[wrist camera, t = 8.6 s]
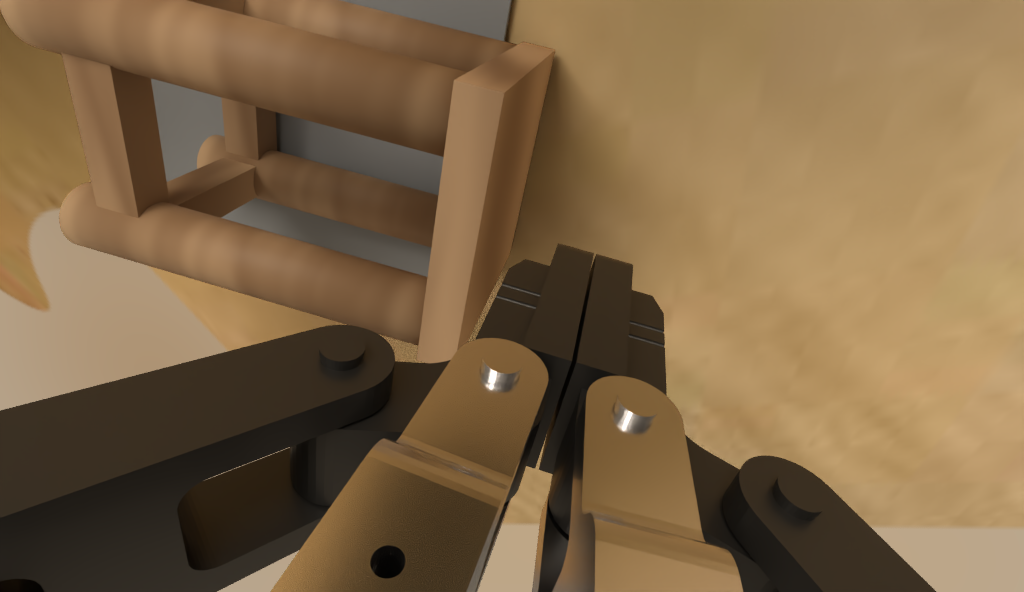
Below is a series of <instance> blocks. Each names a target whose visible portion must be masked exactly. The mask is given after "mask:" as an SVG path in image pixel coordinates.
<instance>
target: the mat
mask: <svg viewBox="0 0 1024 592" xmlns="http://www.w3.org/2000/svg"><path fill="white" fill-rule="evenodd" d="M341 1H345V2H349V3H353V4H357V5H361V6H365V7H369V8H373V9H377V10H381V11H385V12H389V13H393V14H397V15H401V16H405V17H409V18H413V19H417V20H421V21H425V22H429V23H432V24H436V25H440V26H444V27H448V28H452V29H456V30H460V31H464V32H468V33H472V34H476V35H480V36H484V37H488V38H492V39H496V40H500V41H504V42H505V38H506V32H507V27H508V21H509V15H510V9H511V3H512V0H341ZM151 82H152V89H153V95H154V102H155V109H156V115H157V122H158V128H159V135H160V141H161V148H162V155H163V161H164V168H165V174H166V181H167V182H168V181H170V180H173V179H175V178H177V177H180V176H182V175H184V174H187V173H189V172H191V171H193V170H196V169H197V157H198V153H199V150H200V147H201V146H202V144H203V142H204V141H205V140H206V139H207V138H208V137H210V136H212V135H221V136H224V137H225V134H224V122H223V111H222V99H221V97H218V96H215V95H211V94H207V93H204V92H200V91H196V90H192V89H189V88H185V87H181V86H177V85H174V84H170V83H166V82H163V81H159V80H155V79H151ZM276 135H277V151H279V152H283V153H286V154H290V155H294V156H297V157H301V158H304V159H308V160H312V161H315V162H319V163H323V164H326V165H330V166H334V167H337V168H341V169H345V170H348V171H352V172H355V173H359V174H363V175H366V176H370V177H374V178H377V179H381V180H385V181H388V182H392V183H396V184H399V185H403V186H407V187H410V188H414V189H417V190H421V191H425V192H428V193H432V194H436V195H439V188H440V180H441V173H442V165H443V158H444V157H442V156H438V155H434V154H431V153H427V152H423V151H419V150H416V149H412V148H408V147H404V146H401V145H397V144H393V143H390V142H386V141H382V140H378V139H375V138H371V137H367V136H364V135H360V134H356V133H352V132H349V131H345V130H341V129H337V128H334V127H330V126H326V125H323V124H319V123H315V122H311V121H308V120H304V119H300V118H297V117H293V116H289V115H285V114H282V113H278V112H276ZM221 218H223V219H227V220H230V221H234V222H237V223H241V224H244V225H248V226H251V227H255V228H258V229H262V230H265V231H269V232H272V233H276V234H279V235H283V236H286V237H290V238H293V239H296V240H300V241H303V242H307V243H310V244H314V245H317V246H321V247H324V248H328V249H331V250H335V251H338V252H342V253H345V254H349V255H352V256H356V257H359V258H363V259H366V260H370V261H373V262H377V263H380V264H384V265H387V266H391V267H394V268H398V269H401V270H405V271H408V272H412V273H415V274H419V275H422V276H426V277H428V270H429V263H430V255H431V247H428V246H424V245H421V244H417V243H414V242H410V241H406V240H403V239H399V238H396V237H392V236H389V235H385V234H382V233H378V232H374V231H371V230H367V229H364V228H360V227H357V226H353V225H350V224H346V223H343V222H339V221H335V220H332V219H328V218H325V217H321V216H318V215H314V214H311V213H307V212H304V211H300V210H296V209H293V208H289V207H286V206H282V205H279V204H275V203H272V202H268V201H265V200H261V199H257V198H254V199H253V200H251V201H249V202H247V203H246V204H244V205H242V206H240V207H239V208H237V209H235V210H233V211H232V212H230V213H228V214H226V215H225V216H223V217H221Z"/></svg>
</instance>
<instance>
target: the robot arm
mask: <svg viewBox="0 0 1024 592" xmlns="http://www.w3.org/2000/svg"><path fill="white" fill-rule="evenodd" d="M593 255H594V253H590V252H587V251H583V250H580V249H577V248H573V247H570V246H566V245H563V244H559V243H558V245H557V248H556V251H555V254H554V257H553V260H552V263H551V266H547V265H543V264H540V263H537V262H533V261H530V260H526V259H525V260H523V261H522V262H520V263H518V264H516V265H515V266H513V267H511V268H509V270H508V272H507V274H506V277H505V279H504V281H503V283H502V286H501V287H500V289H499V291H498V293H497V296H496V298H495V300H494V302H493V304H492V306H491V308H490V310H489V312H488V314H487V316H486V318H485V320H484V323H483V325H482V327H481V329H480V331H479V333H478V335H477V337H476V339H475V340H473V341H470V342H468V343H466V344H464V345H463V346H461V347H460V348H459V349H458V350H457V352H456V353H455V354H454V356H453V357H452V359H451V360H448V361H444V362H439V363H412V362H397V361H395V355H394V351H393V349H392V347H391V346H390V344H389V343H388V342H387V341H386V340H385V339H384V338H383V337H381V336H380V335H379V334H377V333H375V332H373V331H371V330H368V329H365V328H361V327H357V326H350V325H332V326H325V327H321V328H317V329H313V330H309V331H305V332H301V333H297V334H294V335H290V336H286V337H282V338H278V339H274V340H270V341H267V342H263V343H259V344H255V345H251V346H247V347H243V348H240V349H236V350H232V351H228V352H224V353H221V354H217V355H213V356H209V357H205V358H201V359H197V360H193V361H190V362H186V363H182V364H178V365H174V366H171V367H166V368H163V369H159V370H155V371H151V372H148V373H144V374H140V375H136V376H132V377H128V378H124V379H120V380H117V381H113V382H109V383H105V384H101V385H97V386H93V387H90V388H86V389H82V390H78V391H74V392H71V393H67V394H63V395H59V396H55V397H51V398H48V399H43V400H39V401H36V402H32V403H28V404H24V405H20V406H16V407H13V408H9V409H5V410H1V411H0V592H217V591H219V590H221V589H223V588H225V587H227V586H229V585H231V584H233V583H234V582H237V581H239V580H241V579H242V578H244V577H246V576H248V575H250V574H252V573H254V572H256V571H258V570H260V569H262V568H264V567H266V566H268V565H270V564H272V563H274V562H276V561H278V560H280V559H282V558H284V557H286V556H288V555H290V554H292V553H294V552H296V551H298V550H299V552H298V553H297V555H296V556H295V558H294V559H293V560H292V562H291V563H290V565H289V566H288V568H287V569H286V570H285V572H284V573H283V575H282V576H281V578H280V579H279V580H278V582H277V583H276V585H275V586H274V587H273V589H272V590H271V592H477V591H478V588H479V586H480V582H481V580H482V577H483V575H484V572H485V569H486V566H487V564H488V561H489V558H490V555H491V553H492V550H493V547H494V545H495V542H496V539H497V536H498V534H499V531H500V528H501V525H502V523H503V520H504V517H505V514H506V512H507V509H508V506H509V503H510V500H511V498H512V497H513V496H514V495H515V494H516V492H517V491H518V488H519V486H520V483H521V480H522V477H523V474H524V471H525V468H526V466H528V467H532V468H535V467H536V464H537V461H538V458H539V455H540V452H541V449H542V446H543V444H544V441H545V445H544V449H543V454H542V458H541V462H540V467H539V470H542V471H545V472H548V473H551V474H553V476H552V481H551V486H550V491H549V494H548V497H547V499H546V502H545V504H544V507H543V510H542V513H541V518H540V526H539V536H538V544H537V553H536V562H535V571H534V580H533V588H532V592H936V591H935V590H934V589H933V588H932V587H931V586H930V585H929V584H928V583H927V582H926V581H925V580H924V579H923V578H922V577H921V576H920V575H919V574H918V573H917V572H916V571H915V570H914V569H913V568H911V567H910V565H908V564H907V562H905V561H904V560H903V559H902V558H901V557H900V556H899V555H898V554H897V553H896V552H895V551H894V550H893V549H892V548H891V547H890V546H889V545H888V544H887V543H886V542H885V541H884V540H883V539H882V538H881V537H880V536H879V535H878V534H877V533H876V532H875V531H874V530H873V529H872V528H871V527H870V526H869V525H868V524H867V523H866V522H865V521H864V520H863V519H862V518H861V517H860V516H858V515H857V514H856V513H855V512H854V511H853V510H852V509H851V508H850V507H849V506H848V505H847V504H846V503H845V502H844V501H843V500H842V499H841V498H840V497H839V496H838V495H837V494H836V493H835V492H834V491H833V490H832V489H831V488H830V487H829V486H828V485H827V484H825V483H824V482H823V481H822V480H821V479H820V478H818V477H817V476H816V475H814V474H813V473H811V472H810V471H808V470H807V469H805V468H803V467H802V466H800V465H798V464H796V463H793V462H791V461H788V460H786V459H782V458H779V457H774V456H757V457H753V458H751V459H749V460H747V461H746V462H745V463H744V464H743V466H742V467H741V469H740V470H739V469H737V468H736V467H734V466H732V465H730V464H729V463H727V462H725V461H723V460H722V459H720V458H718V457H716V456H714V455H713V454H711V453H709V452H708V451H706V450H704V449H703V448H701V447H700V446H698V445H697V444H696V443H694V442H693V441H692V440H691V439H689V438H688V437H687V436H686V435H685V430H684V424H683V420H682V417H681V414H680V412H679V410H678V409H677V407H676V406H675V404H674V403H673V402H672V401H671V400H670V399H669V398H668V397H667V395H666V368H665V348H664V344H665V341H664V333H663V332H664V313H663V312H662V310H661V309H660V307H659V306H658V304H657V303H656V301H655V299H654V298H653V296H650V295H647V294H644V293H640V292H637V291H633V290H632V273H633V265H632V264H629V263H626V262H622V261H619V260H615V259H612V258H608V257H605V256H601V255H598V254H596V256H595V259H594V262H593V265H592V260H593ZM591 265H592V268H591ZM590 269H591V271H590ZM546 435H547V436H546ZM545 438H546V440H545ZM288 447H290V448H288ZM285 448H288V449H285ZM283 449H285V450H283ZM281 450H283V451H281ZM278 451H280V452H278ZM275 452H278V453H275ZM273 453H275V454H273ZM270 454H272V455H270ZM268 455H270V456H268ZM265 456H267V457H265ZM262 457H265V458H262ZM260 458H262V459H260ZM257 459H259V460H257ZM254 460H257V461H254ZM252 461H254V462H252ZM249 462H252V463H249ZM247 463H249V464H247ZM244 464H246V465H244ZM242 465H244V466H242ZM239 466H241V467H239ZM236 467H239V468H236ZM234 468H236V469H234ZM231 469H233V470H231ZM228 470H231V471H228ZM226 471H228V472H226ZM223 472H226V473H223ZM221 473H223V474H221ZM218 474H221V475H218ZM216 475H218V476H216ZM213 476H216V477H213ZM210 477H213V478H210ZM208 478H210V479H208ZM206 479H208V480H206ZM204 480H205V481H204Z"/></svg>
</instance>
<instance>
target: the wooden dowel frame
mask: <svg viewBox="0 0 1024 592" xmlns="http://www.w3.org/2000/svg"><path fill="white" fill-rule="evenodd" d="M0 10H1V13H2V15H3V17H4V20H5V21H6V23H7V25H8V26H9V28H10V29H11V30H12V32H13V33H14V34H15V35H16V36H17V37H18V38H20V39H21V40H22V41H24V42H25V43H27V44H29V45H31V46H33V47H36V48H40V49H43V50H47V51H51V52H55V53H58V54H62V58H63V62H64V66H65V71H66V75H67V79H68V84H69V88H70V92H71V97H72V101H73V105H74V110H75V114H76V118H77V123H78V127H79V131H80V136H81V140H82V144H83V149H84V153H85V157H86V162H87V166H88V170H89V175H90V179H91V182H87V183H83V184H81V185H78V186H77V187H75V188H74V189H73V190H71V192H70V193H69V194H68V195H67V196H66V198H65V199H64V201H63V203H62V205H61V209H60V214H59V222H60V227H61V230H62V232H63V234H64V235H65V237H66V238H67V239H68V240H69V241H71V242H72V243H74V244H77V245H80V246H84V247H87V248H91V249H94V250H97V251H101V252H104V253H108V254H111V255H115V256H118V257H121V258H124V259H128V260H131V261H134V262H138V263H141V264H145V265H148V266H151V267H155V268H158V269H161V270H165V271H168V272H172V273H175V274H178V275H182V276H185V277H188V278H192V279H195V280H199V281H202V282H205V283H209V284H212V285H216V286H219V287H222V288H226V289H229V290H232V291H236V292H239V293H243V294H246V295H249V296H253V297H256V298H259V299H263V300H266V301H270V302H273V303H276V304H280V305H283V306H286V307H290V308H293V309H297V310H300V311H303V312H307V313H310V314H313V315H317V316H320V317H324V318H327V319H330V320H334V321H337V322H340V323H344V324H347V325H351V326H357V327H361V328H365V329H368V330H371V331H373V332H375V333H378V334H381V335H384V336H388V337H391V338H394V339H398V340H401V341H405V342H408V343H411V344H415V345H418V352H417V360H418V361H421V362H425V363H439V362H444V361H448V360H451V359H452V357H453V356H454V354H455V353H456V352H457V350H458V349H459V348H460V347H461V346H463V345H464V344H466V343H467V342H468V340H469V338H470V335H471V333H472V331H473V329H474V327H475V325H476V323H477V321H478V319H479V317H480V315H481V313H482V311H483V309H484V307H485V304H486V302H487V300H488V298H489V296H490V294H491V292H492V290H493V288H494V286H495V284H496V282H497V280H498V278H499V276H500V273H501V271H502V269H503V267H504V265H505V263H506V261H507V259H508V257H509V255H510V252H511V247H512V243H513V238H514V234H515V229H516V225H517V220H518V216H519V211H520V207H521V202H522V198H523V194H524V189H525V185H526V180H527V176H528V171H529V167H530V162H531V158H532V153H533V149H534V144H535V140H536V135H537V131H538V126H539V122H540V117H541V113H542V108H543V104H544V99H545V95H546V90H547V86H548V81H549V77H550V72H551V68H552V63H553V59H554V54H555V50H554V49H550V48H546V47H542V46H538V45H534V44H530V43H526V42H522V43H520V44H518V45H516V44H512V43H508V42H504V41H500V40H496V39H492V38H488V37H484V36H480V35H476V34H472V33H468V32H464V31H460V30H456V29H452V28H448V27H444V26H440V25H436V24H432V23H429V22H425V21H421V20H417V19H413V18H409V17H405V16H401V15H397V14H393V13H389V12H385V11H381V10H377V9H373V8H369V7H365V6H361V5H357V4H353V3H349V2H345V1H341V0H0ZM151 79H155V80H159V81H163V82H166V83H170V84H174V85H177V86H181V87H185V88H189V89H192V90H196V91H200V92H204V93H207V94H211V95H215V96H218V97H221V99H222V111H223V122H224V134H225V137H224V136H221V135H212V136H210V137H208V138H207V139H206V140H205V141H204V142H203V144H202V146H201V147H200V150H199V153H198V157H197V169H196V170H193V171H191V172H189V173H187V174H184V175H182V176H180V177H177V178H175V179H173V180H170V181H168V182H167V181H166V174H165V168H164V161H163V155H162V148H161V141H160V135H159V128H158V122H157V115H156V109H155V102H154V95H153V89H152V82H151ZM276 112H278V113H282V114H285V115H289V116H293V117H297V118H300V119H304V120H308V121H311V122H315V123H319V124H323V125H326V126H330V127H334V128H337V129H341V130H345V131H349V132H352V133H356V134H360V135H364V136H367V137H371V138H375V139H378V140H382V141H386V142H390V143H393V144H397V145H401V146H404V147H408V148H412V149H416V150H419V151H423V152H427V153H431V154H434V155H438V156H442V157H444V158H443V165H442V173H441V180H440V188H439V195H436V194H432V193H428V192H425V191H421V190H417V189H414V188H410V187H407V186H403V185H399V184H396V183H392V182H388V181H385V180H381V179H377V178H374V177H370V176H366V175H363V174H359V173H355V172H352V171H348V170H345V169H341V168H337V167H334V166H330V165H326V164H323V163H319V162H315V161H312V160H308V159H304V158H301V157H297V156H294V155H290V154H286V153H283V152H279V151H277V135H276ZM254 198H257V199H261V200H265V201H268V202H272V203H275V204H279V205H282V206H286V207H289V208H293V209H296V210H300V211H304V212H307V213H311V214H314V215H318V216H321V217H325V218H328V219H332V220H335V221H339V222H343V223H346V224H350V225H353V226H357V227H360V228H364V229H367V230H371V231H374V232H378V233H382V234H385V235H389V236H392V237H396V238H399V239H403V240H406V241H410V242H414V243H417V244H421V245H424V246H428V247H431V255H430V263H429V270H428V277H426V276H422V275H419V274H415V273H412V272H408V271H405V270H401V269H398V268H394V267H391V266H387V265H384V264H380V263H377V262H373V261H370V260H366V259H363V258H359V257H356V256H352V255H349V254H345V253H342V252H338V251H335V250H331V249H328V248H324V247H321V246H317V245H314V244H310V243H307V242H303V241H300V240H296V239H293V238H290V237H286V236H283V235H279V234H276V233H272V232H269V231H265V230H262V229H258V228H255V227H251V226H248V225H244V224H241V223H237V222H234V221H230V220H227V219H223V218H221V217H223V216H225V215H226V214H228V213H230V212H232V211H233V210H235V209H237V208H239V207H240V206H242V205H244V204H246V203H247V202H249V201H251V200H253V199H254Z"/></svg>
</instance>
